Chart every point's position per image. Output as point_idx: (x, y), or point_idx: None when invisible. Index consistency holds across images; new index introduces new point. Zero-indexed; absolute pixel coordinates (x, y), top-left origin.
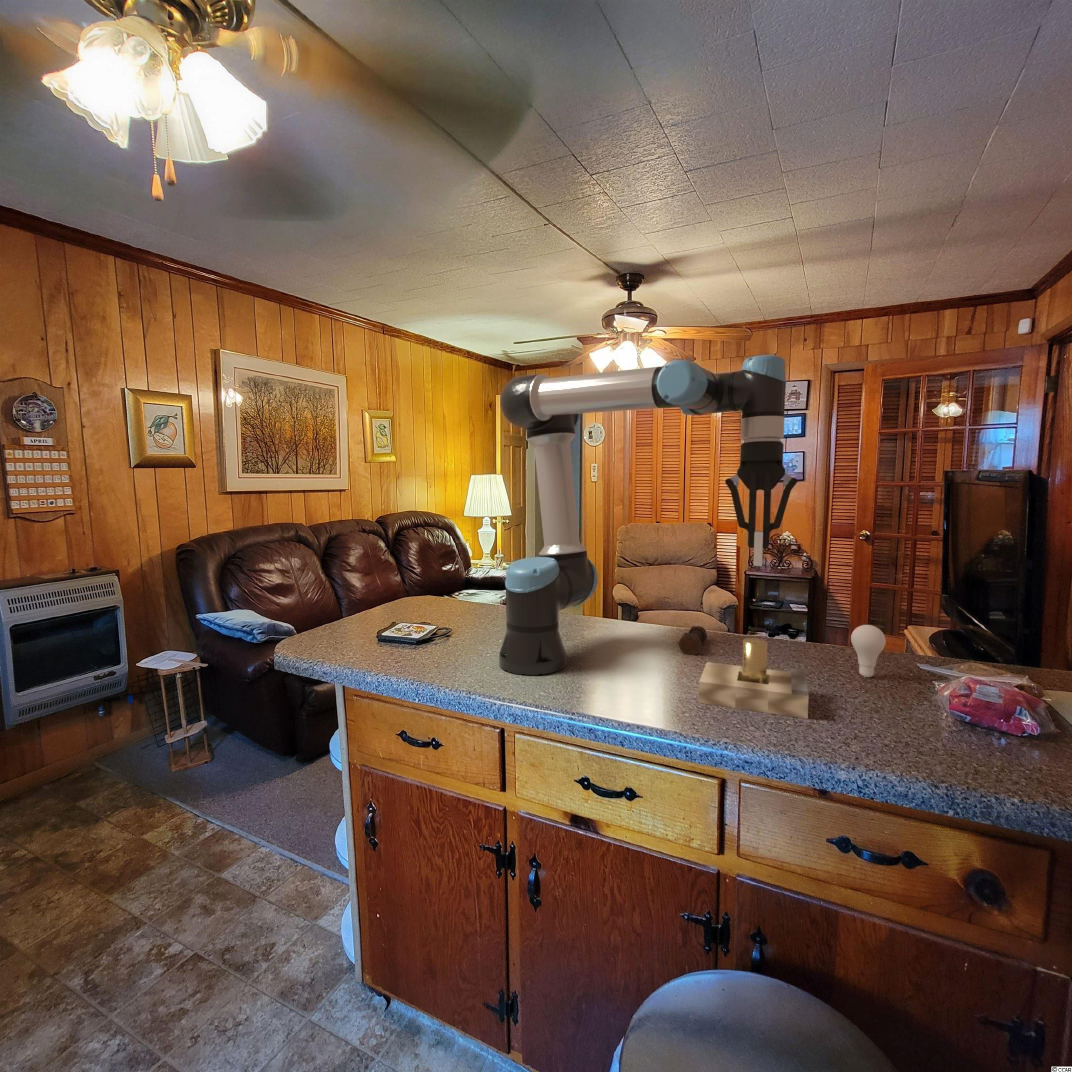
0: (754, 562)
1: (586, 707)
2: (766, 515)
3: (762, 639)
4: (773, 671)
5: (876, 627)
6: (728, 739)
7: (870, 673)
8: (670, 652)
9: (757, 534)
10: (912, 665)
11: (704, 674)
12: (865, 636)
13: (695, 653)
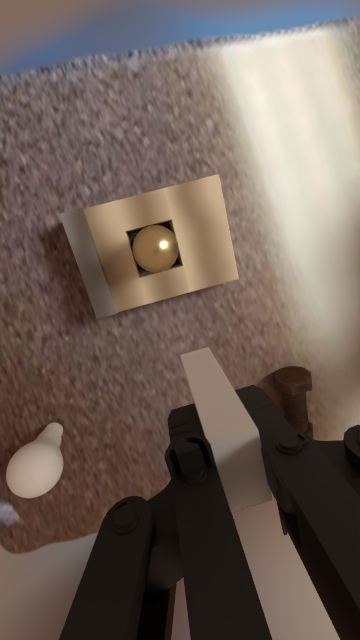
0: (208, 352)
1: (341, 52)
2: (221, 586)
3: (148, 270)
4: (139, 298)
5: (14, 491)
6: (130, 68)
7: (46, 426)
8: (311, 360)
9: (235, 424)
10: (21, 508)
11: (222, 215)
12: (29, 457)
13: (278, 371)
